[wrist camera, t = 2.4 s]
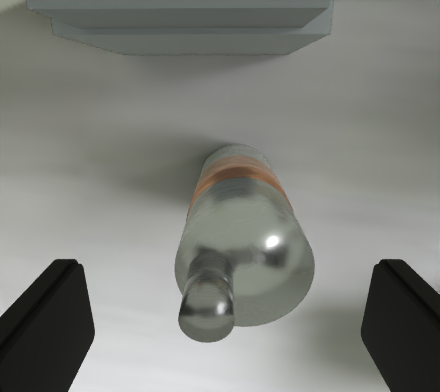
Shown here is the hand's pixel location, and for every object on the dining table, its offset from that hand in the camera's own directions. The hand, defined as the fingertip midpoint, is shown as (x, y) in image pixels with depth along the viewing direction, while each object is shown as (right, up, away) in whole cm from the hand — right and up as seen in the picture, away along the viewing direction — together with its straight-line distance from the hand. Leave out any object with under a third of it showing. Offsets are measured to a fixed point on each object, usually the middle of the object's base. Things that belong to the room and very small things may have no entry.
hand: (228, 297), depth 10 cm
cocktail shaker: (+1, +4, +11) cm, 12 cm away
